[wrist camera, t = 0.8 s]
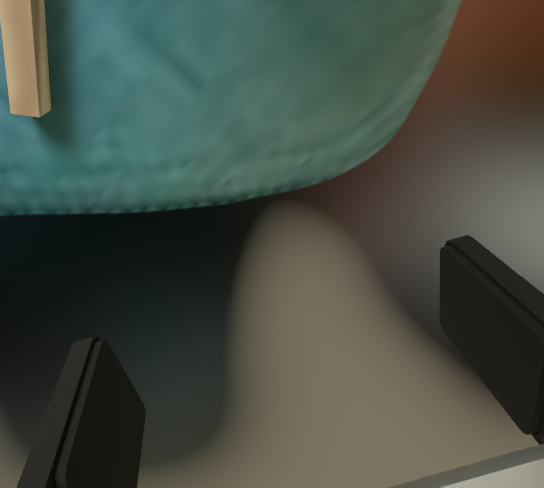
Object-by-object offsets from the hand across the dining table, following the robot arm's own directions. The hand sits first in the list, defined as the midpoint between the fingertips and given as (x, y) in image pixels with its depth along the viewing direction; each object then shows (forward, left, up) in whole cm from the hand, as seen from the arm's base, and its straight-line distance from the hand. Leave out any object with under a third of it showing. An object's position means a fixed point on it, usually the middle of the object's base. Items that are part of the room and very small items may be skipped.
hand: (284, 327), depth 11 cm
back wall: (-12, -11, -29) cm, 33 cm away
